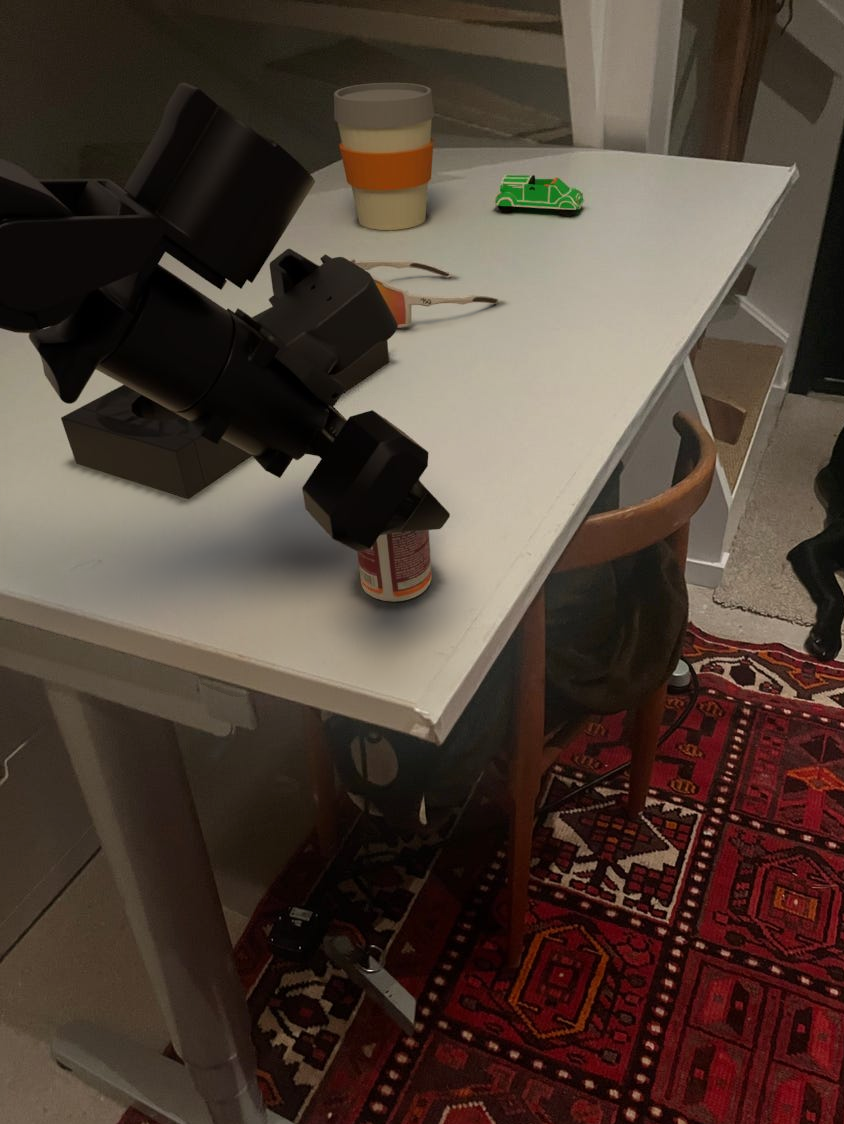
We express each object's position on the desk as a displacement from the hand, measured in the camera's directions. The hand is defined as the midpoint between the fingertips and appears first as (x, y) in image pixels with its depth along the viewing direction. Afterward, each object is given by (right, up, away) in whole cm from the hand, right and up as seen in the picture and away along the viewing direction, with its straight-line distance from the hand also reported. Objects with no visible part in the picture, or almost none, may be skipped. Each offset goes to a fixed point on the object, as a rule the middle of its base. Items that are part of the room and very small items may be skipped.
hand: (407, 487), depth 58 cm
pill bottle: (-1, -6, +4) cm, 7 cm away
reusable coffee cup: (-7, +47, +66) cm, 82 cm away
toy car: (+13, +49, +69) cm, 85 cm away
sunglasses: (-2, +27, +43) cm, 50 cm away
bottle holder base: (-16, +11, +24) cm, 31 cm away
